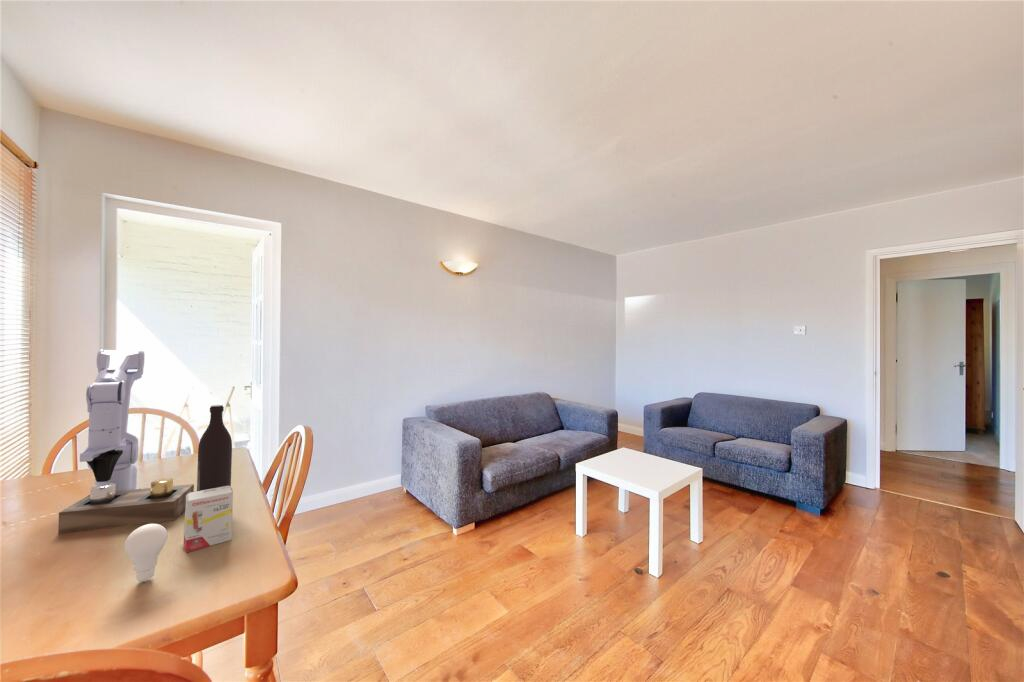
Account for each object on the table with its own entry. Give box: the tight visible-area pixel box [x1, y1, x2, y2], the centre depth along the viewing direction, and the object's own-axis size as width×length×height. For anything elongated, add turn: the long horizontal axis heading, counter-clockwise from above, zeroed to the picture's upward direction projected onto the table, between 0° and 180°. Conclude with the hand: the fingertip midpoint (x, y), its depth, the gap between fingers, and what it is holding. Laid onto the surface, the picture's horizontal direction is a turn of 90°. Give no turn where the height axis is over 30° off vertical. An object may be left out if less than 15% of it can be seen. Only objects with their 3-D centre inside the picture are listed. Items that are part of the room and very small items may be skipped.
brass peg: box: [150, 478, 174, 499], centre depth 102 cm, size 4×4×5 cm
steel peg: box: [89, 483, 116, 505], centre depth 97 cm, size 4×4×5 cm
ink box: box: [183, 485, 234, 553], centre depth 88 cm, size 9×5×12 cm, turn 133°
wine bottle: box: [196, 404, 233, 491], centre depth 99 cm, size 7×7×30 cm
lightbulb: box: [124, 523, 169, 583], centre depth 74 cm, size 6×6×11 cm
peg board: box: [57, 483, 195, 534], centre depth 100 cm, size 12×22×5 cm, turn 111°
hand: (103, 480), depth 97 cm, fingers closed
